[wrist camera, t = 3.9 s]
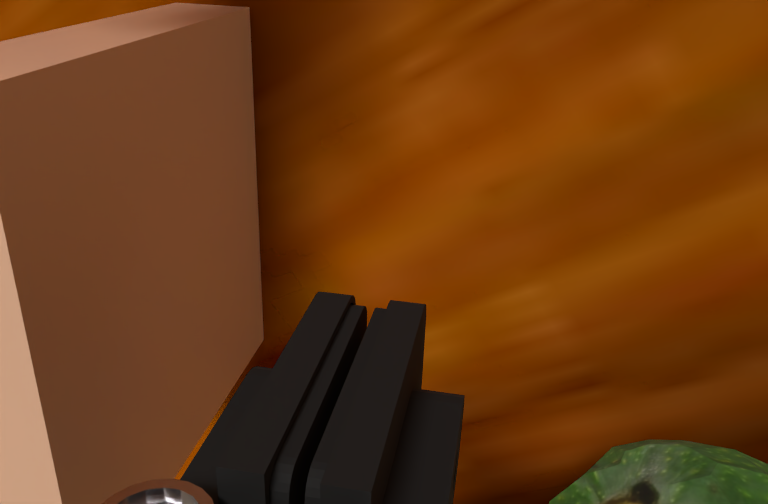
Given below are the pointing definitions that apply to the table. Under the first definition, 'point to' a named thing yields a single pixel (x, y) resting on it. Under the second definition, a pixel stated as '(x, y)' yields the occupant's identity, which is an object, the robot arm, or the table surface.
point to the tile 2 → (123, 246)
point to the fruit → (670, 476)
